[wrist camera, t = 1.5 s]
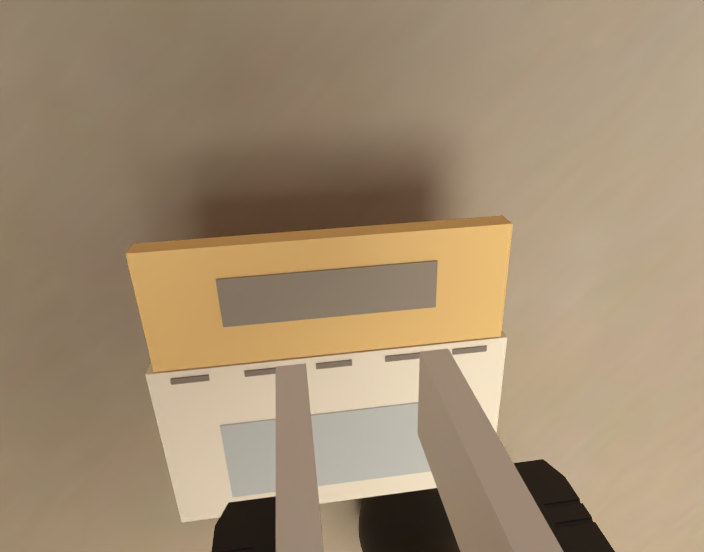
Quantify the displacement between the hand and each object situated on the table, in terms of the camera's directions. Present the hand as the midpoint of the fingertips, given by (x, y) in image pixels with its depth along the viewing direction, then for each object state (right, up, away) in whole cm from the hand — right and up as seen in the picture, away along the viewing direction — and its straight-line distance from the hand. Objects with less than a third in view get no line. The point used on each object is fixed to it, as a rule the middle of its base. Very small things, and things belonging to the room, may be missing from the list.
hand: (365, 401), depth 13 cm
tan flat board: (-2, +3, +11) cm, 12 cm away
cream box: (-2, -1, +23) cm, 23 cm away
